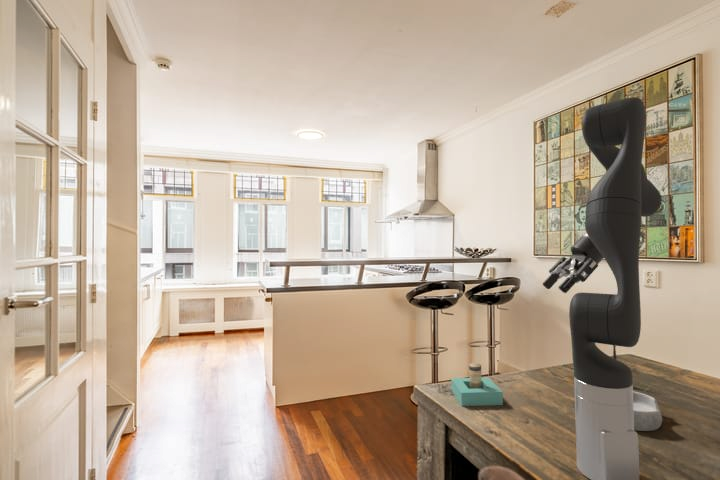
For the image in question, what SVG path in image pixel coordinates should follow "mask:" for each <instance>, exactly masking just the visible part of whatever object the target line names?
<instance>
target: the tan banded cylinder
mask: <svg viewBox="0 0 720 480" xmlns="http://www.w3.org/2000/svg"><path fill="white" fill-rule="evenodd" d="M468 370H469V371H468V373H469V378H470V389H477V388H482V379H481V378H482V364H480V363H476V362H472V363H469V364H468Z"/></svg>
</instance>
